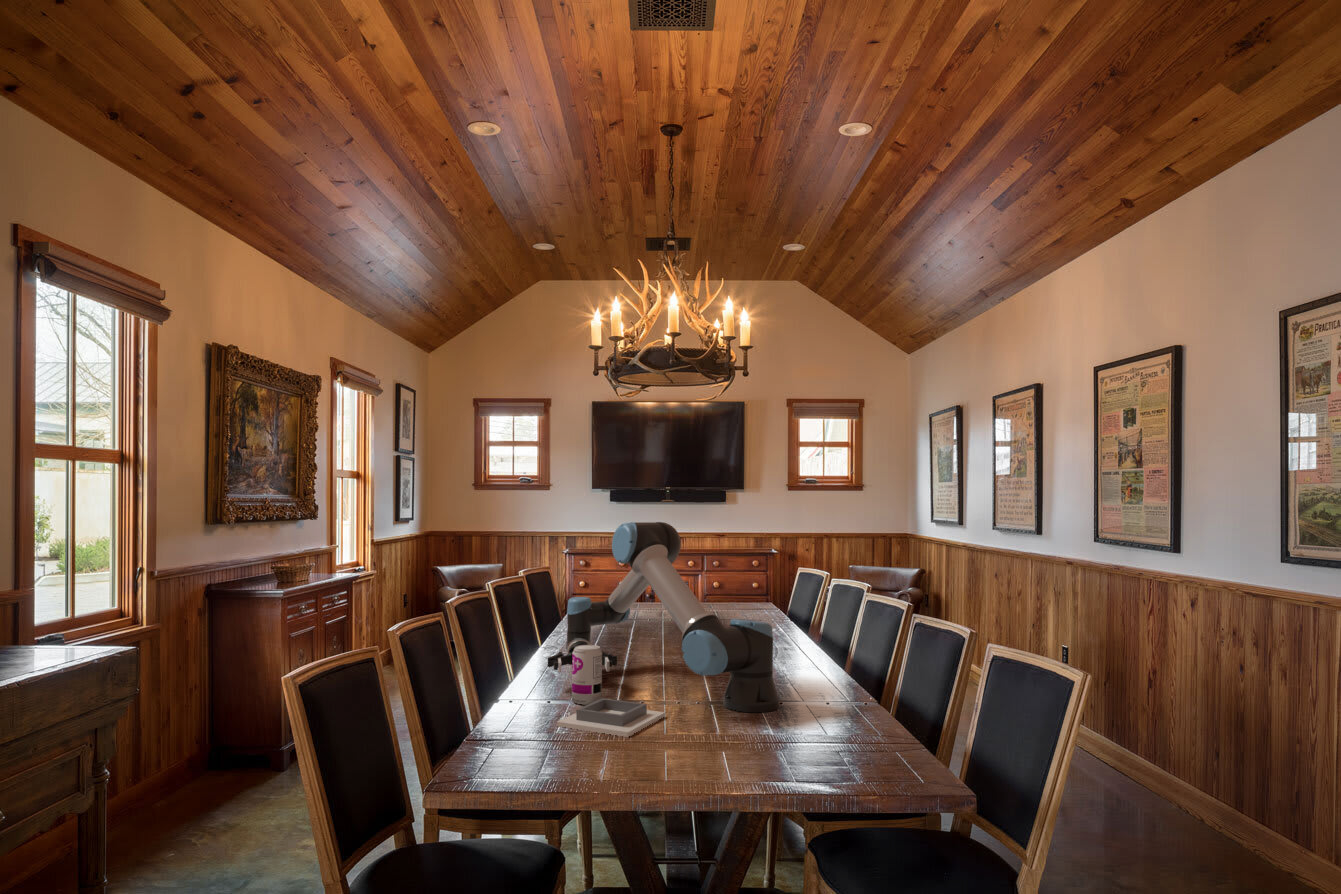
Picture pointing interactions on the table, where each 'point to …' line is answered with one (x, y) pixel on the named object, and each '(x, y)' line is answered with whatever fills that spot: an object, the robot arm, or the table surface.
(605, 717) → the socket board
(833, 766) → the table surface
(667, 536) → the robot arm
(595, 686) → the supplement can
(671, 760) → the table surface
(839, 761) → the table surface
